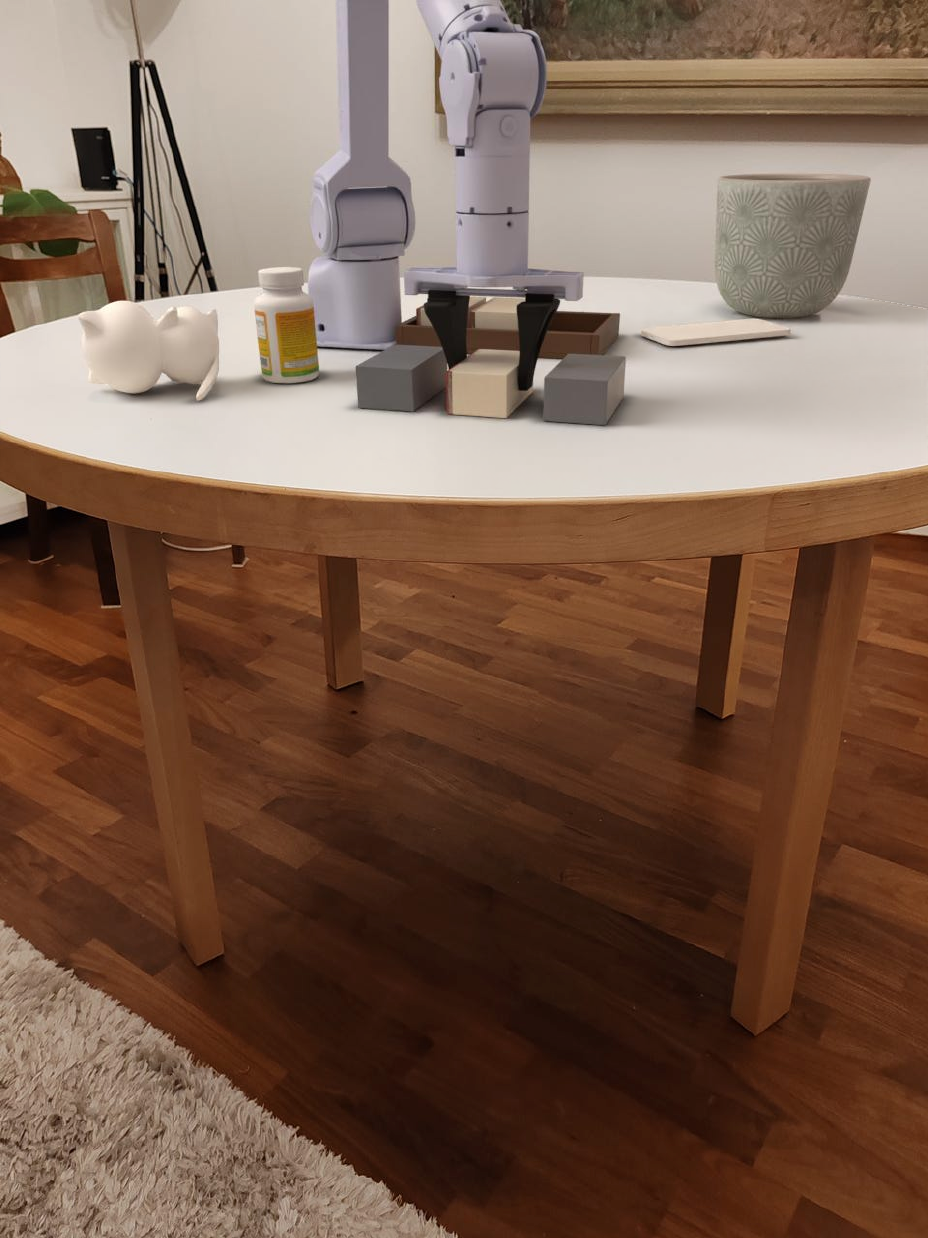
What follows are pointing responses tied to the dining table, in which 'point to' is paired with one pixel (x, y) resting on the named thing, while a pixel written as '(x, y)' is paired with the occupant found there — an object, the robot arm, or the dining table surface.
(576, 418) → the grey box
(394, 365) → the gray rectangular block
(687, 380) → the dining table surface
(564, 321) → the book tray
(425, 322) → the beige book
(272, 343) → the supplement bottle
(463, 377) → the beige rectangular block
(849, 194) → the planter
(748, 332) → the smartphone
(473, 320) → the ivory book
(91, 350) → the cat figurine
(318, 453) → the dining table surface
